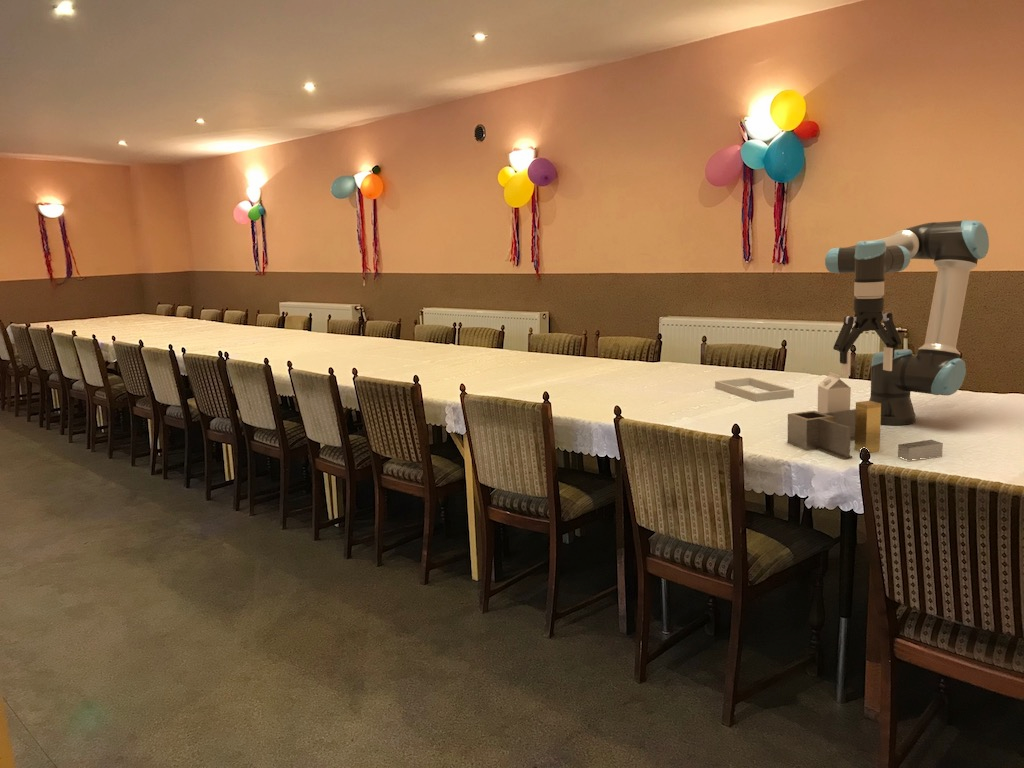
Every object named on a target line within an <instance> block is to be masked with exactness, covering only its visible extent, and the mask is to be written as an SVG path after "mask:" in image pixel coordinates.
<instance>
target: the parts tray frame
mask: <svg viewBox="0 0 1024 768" xmlns="http://www.w3.org/2000/svg"><path fill="white" fill-rule="evenodd" d="M745 386H751V387H754V388H756V389H757V388H758V389H761V390H765V392H755V391H751V390H748V389H745V388H742V387H745ZM714 389H716V390H719V391H722V392H724V393H725V392H726V393H728V394H731V395H734V396H737V397H741V398H744V399H746V400H750V401H752V402H755V403H756V402H765V401H766V402H767V401H772V400H773V401H774V400H783V399H791V398H792V399H793V398H794V395H795V390H794V389H793V388H790V387H787V386H783V385H779V384H776V383H775V384H774V383H772V382H768V381H764V380H761V379H756V378H754V377H743V378H735V379H734V378H733V379H724V380H715V382H714Z"/></svg>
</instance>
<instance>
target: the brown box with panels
mask: <svg viewBox="0 0 1024 768" xmlns="http://www.w3.org/2000/svg"><path fill="white" fill-rule="evenodd" d="M855 417H856V408H855V409H854V408H853V409H850V410H845V411H837V412H829V413H820V412H818V410H817V411H816V410H808V411H800V412H793V413H787V444H789V445H792V446H795V447H797V448H799V449H802V450H805V451H811V450H818V451H820V452H823V453H825V454H828V455H830V456H834V457H836V458H838V459H841V460H842V461H843V460H849V459H850V460H851V459H853V457H854V456H853V455H851V442H852V441H855Z"/></svg>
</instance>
